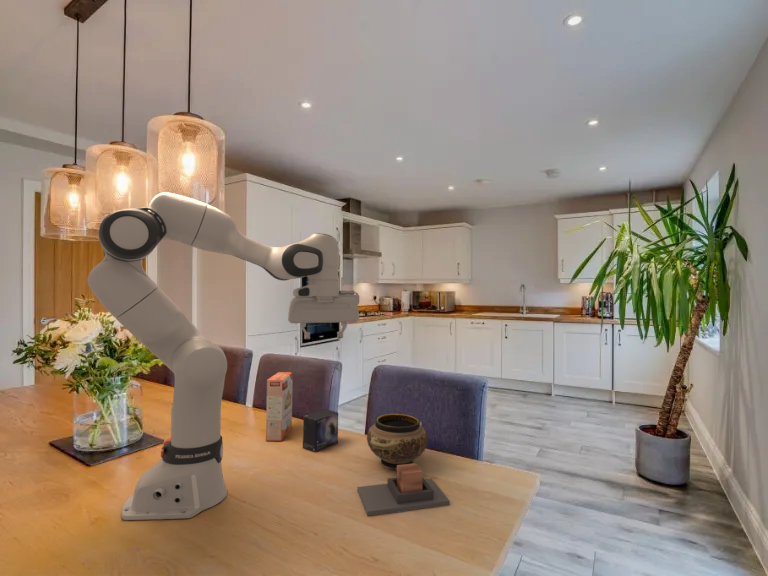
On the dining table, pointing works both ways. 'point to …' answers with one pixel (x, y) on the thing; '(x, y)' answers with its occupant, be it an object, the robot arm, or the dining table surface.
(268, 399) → the cracker box
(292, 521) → the dining table surface
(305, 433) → the small box
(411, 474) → the terracotta block
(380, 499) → the base board
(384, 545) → the dining table surface
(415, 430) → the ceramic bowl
